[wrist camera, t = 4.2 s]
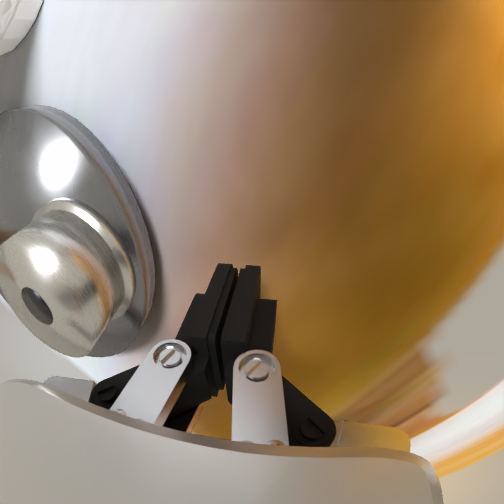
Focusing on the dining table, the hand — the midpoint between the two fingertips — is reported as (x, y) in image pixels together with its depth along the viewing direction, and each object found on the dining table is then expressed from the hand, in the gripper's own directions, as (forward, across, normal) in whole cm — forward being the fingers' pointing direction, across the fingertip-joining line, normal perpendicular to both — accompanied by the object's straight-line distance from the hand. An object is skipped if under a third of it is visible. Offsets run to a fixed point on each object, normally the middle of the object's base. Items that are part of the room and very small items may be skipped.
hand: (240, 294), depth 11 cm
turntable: (+4, +15, 0) cm, 15 cm away
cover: (+1, +9, 0) cm, 9 cm away
